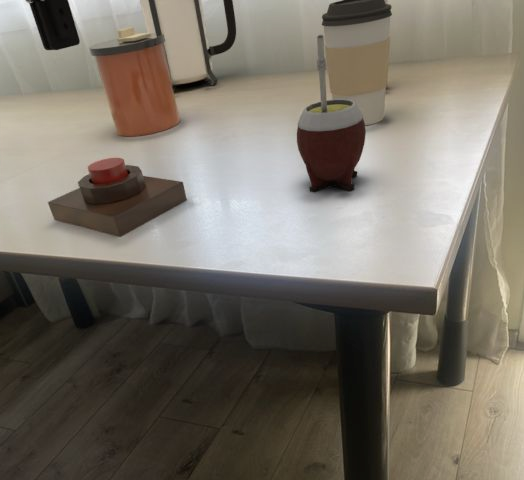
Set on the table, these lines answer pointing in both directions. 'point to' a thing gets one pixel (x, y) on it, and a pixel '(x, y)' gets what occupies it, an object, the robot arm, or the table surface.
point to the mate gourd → (330, 137)
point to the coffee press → (187, 37)
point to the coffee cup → (358, 53)
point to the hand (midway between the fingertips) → (62, 47)
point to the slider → (131, 35)
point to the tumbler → (137, 85)
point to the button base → (118, 202)
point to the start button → (107, 170)
